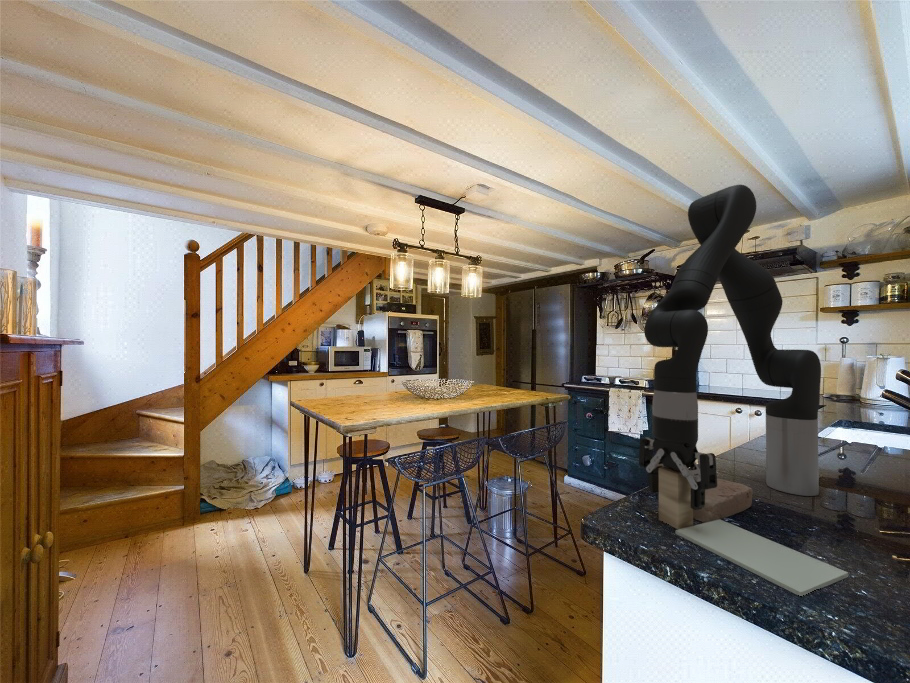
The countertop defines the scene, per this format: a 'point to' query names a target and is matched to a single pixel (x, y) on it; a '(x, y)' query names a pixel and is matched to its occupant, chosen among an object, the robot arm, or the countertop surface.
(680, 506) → the beech block
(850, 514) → the countertop surface
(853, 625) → the countertop surface
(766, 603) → the countertop surface
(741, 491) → the brick
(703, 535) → the flat grey rectangular slab
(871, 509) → the countertop surface
